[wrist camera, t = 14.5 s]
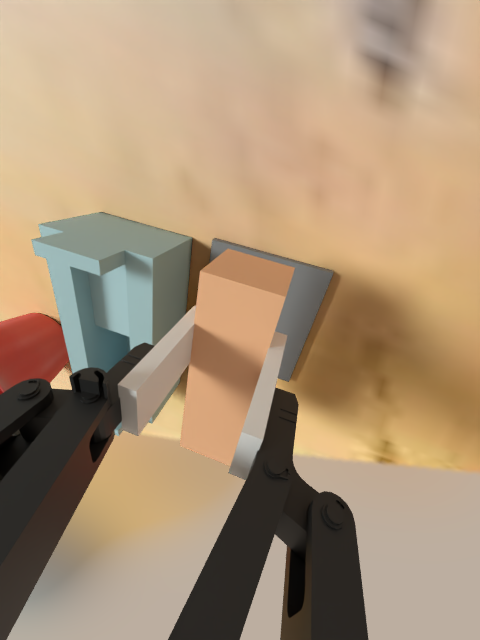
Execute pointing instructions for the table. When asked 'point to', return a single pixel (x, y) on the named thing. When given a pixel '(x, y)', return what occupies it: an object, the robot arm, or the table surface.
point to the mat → (290, 300)
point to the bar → (230, 348)
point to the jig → (114, 286)
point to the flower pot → (30, 349)
